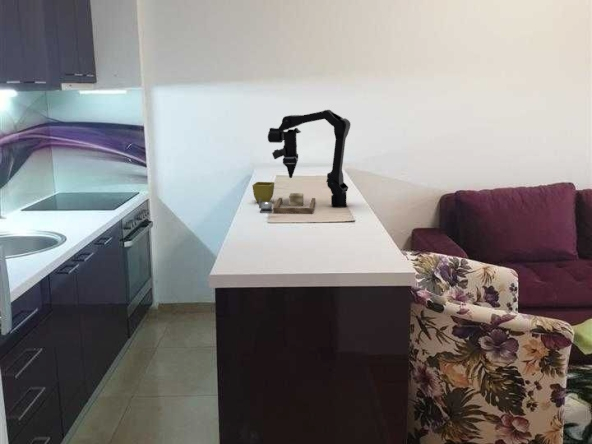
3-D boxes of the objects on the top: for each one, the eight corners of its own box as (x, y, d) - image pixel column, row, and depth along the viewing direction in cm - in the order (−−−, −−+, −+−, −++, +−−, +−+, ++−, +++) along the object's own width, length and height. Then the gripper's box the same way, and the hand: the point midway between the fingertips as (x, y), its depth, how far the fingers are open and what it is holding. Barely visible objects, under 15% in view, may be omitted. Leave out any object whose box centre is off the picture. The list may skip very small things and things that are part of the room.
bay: (315, 203, 293) (315, 198, 293) (312, 213, 271) (312, 208, 270) (279, 202, 295) (279, 197, 294) (273, 213, 272) (273, 207, 272)
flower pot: (270, 204, 291) (270, 185, 289) (252, 203, 293) (252, 184, 291) (274, 200, 300) (274, 182, 298) (257, 200, 301) (256, 181, 299)
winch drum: (272, 210, 278) (272, 197, 276) (271, 212, 273) (271, 199, 272) (260, 210, 278) (259, 197, 277) (258, 212, 274) (258, 199, 272)
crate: (303, 203, 293) (303, 193, 292) (302, 206, 287) (302, 195, 286) (290, 203, 293) (290, 193, 292) (289, 206, 287) (289, 195, 286)
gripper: (274, 141, 298) (275, 173, 302) (271, 145, 280) (272, 179, 284) (297, 140, 298) (298, 173, 301) (296, 144, 279) (296, 179, 283)
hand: (291, 176), depth 292 cm, fingers open, 9 cm apart
